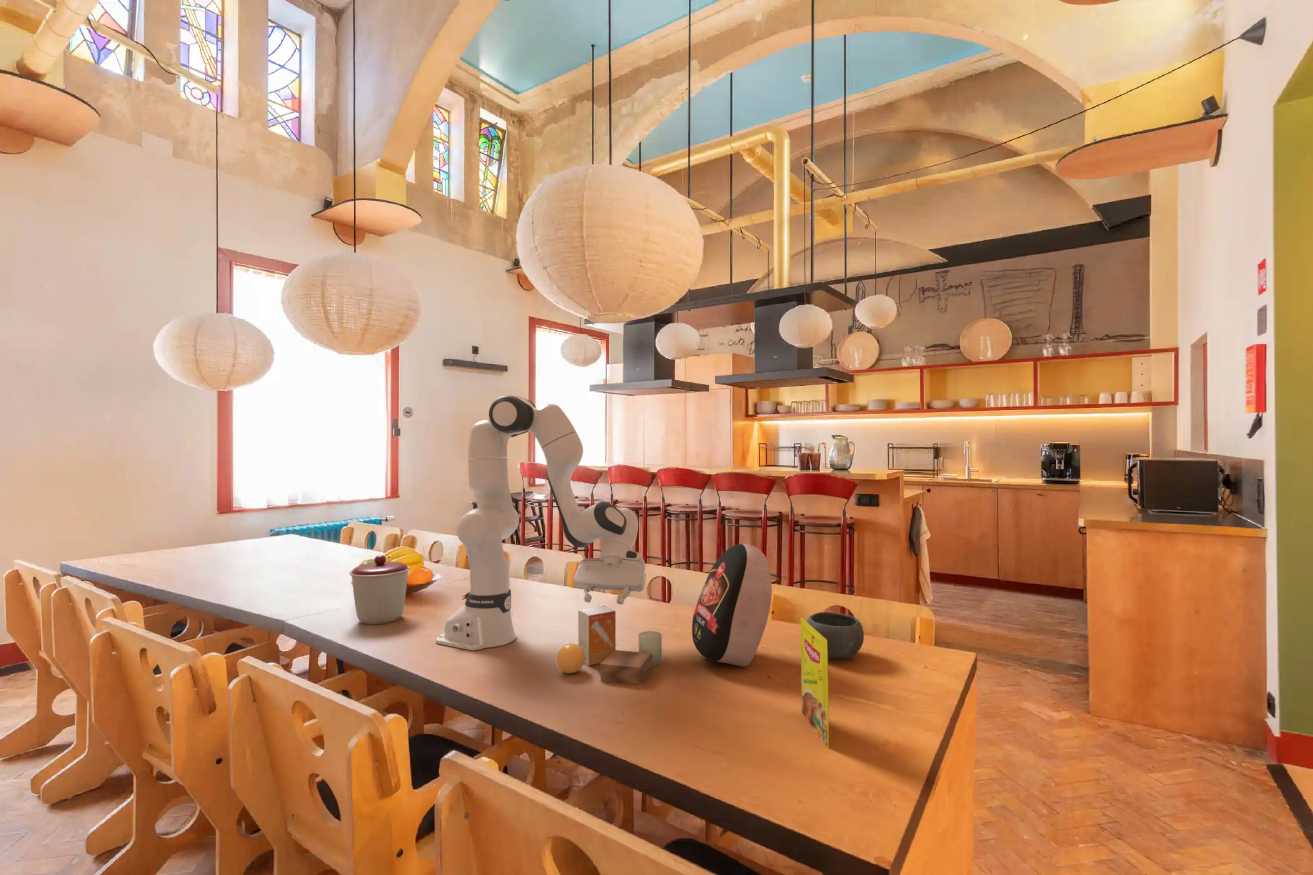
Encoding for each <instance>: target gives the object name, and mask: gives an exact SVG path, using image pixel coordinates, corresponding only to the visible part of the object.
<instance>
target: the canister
mask: <svg viewBox="0 0 1313 875" xmlns="http://www.w3.org/2000/svg"><path fill="white" fill-rule="evenodd" d="M373 560H374V562H371V563H365V564H360V565H358V566H356V567H354V568H353V569H352V570H350V571H349V572H348V574H349V575H350V576H351V582H352V584H351V585H352V591H353V600H354V606H355V611H356V618H357V619H358V620H359V622H360V623H362V624H366V625H383V624H387V623H391V622H395V621H397V620H398V619H400V617H401V616H402V615H403V614H404V610H405V602H406V593H407V584H408V575H409V571H410V569H411V566H410V565H407V564H406V563H403V562H402V561H387V557H386V556H385V555H384V554H383V555H381V554H379V555H375V558H374V559H373Z"/></svg>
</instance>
